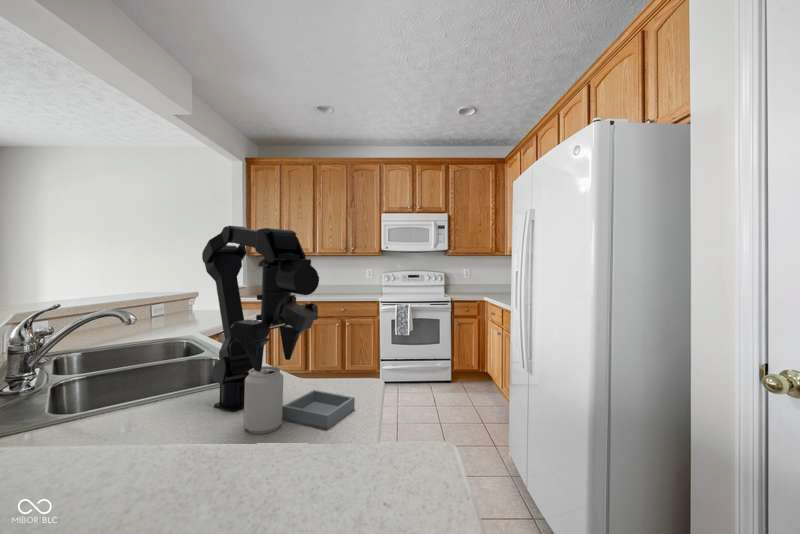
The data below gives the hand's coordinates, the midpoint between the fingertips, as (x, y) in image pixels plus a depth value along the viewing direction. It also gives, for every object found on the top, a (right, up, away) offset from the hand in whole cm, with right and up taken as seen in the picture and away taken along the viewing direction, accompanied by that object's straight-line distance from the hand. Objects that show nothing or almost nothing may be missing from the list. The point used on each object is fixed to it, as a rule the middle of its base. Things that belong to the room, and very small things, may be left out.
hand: (273, 365), depth 76 cm
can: (-2, -13, 0) cm, 13 cm away
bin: (+8, -13, +7) cm, 17 cm away
